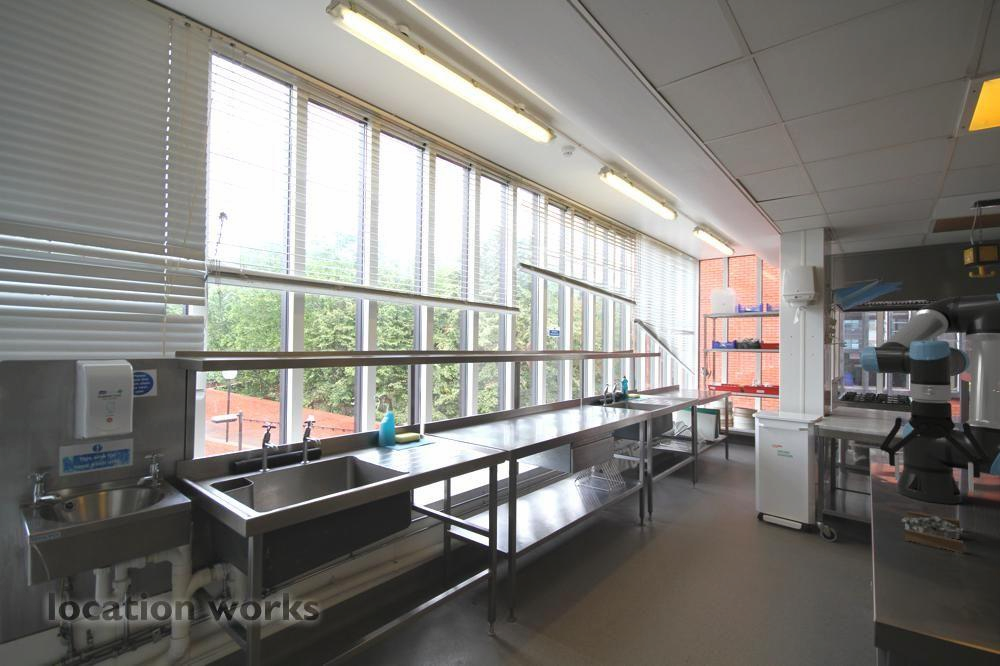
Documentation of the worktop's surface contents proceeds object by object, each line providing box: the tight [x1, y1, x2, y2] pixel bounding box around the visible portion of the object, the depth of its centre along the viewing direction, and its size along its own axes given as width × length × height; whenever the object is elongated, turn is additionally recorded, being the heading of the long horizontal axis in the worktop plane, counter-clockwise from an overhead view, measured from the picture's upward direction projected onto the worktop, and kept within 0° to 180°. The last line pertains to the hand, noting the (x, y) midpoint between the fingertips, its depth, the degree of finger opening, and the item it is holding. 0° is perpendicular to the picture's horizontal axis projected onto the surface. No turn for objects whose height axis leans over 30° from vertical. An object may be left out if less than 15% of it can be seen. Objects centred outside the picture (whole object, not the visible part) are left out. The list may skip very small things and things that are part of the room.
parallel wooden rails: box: [904, 510, 964, 554], centre depth 115 cm, size 19×10×2 cm, turn 137°
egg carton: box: [901, 515, 964, 539], centre depth 116 cm, size 11×8×4 cm
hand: (932, 484), depth 116 cm, fingers open, 13 cm apart
